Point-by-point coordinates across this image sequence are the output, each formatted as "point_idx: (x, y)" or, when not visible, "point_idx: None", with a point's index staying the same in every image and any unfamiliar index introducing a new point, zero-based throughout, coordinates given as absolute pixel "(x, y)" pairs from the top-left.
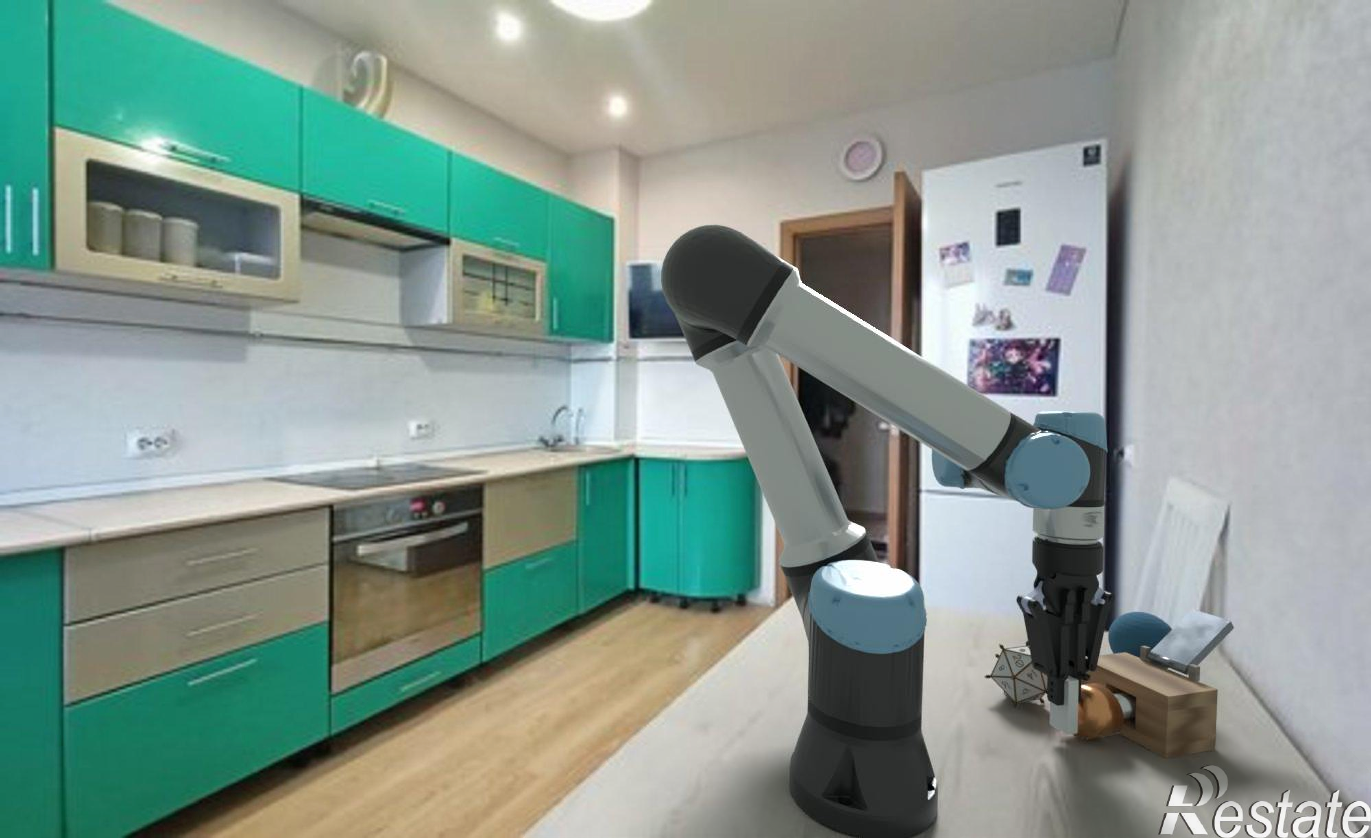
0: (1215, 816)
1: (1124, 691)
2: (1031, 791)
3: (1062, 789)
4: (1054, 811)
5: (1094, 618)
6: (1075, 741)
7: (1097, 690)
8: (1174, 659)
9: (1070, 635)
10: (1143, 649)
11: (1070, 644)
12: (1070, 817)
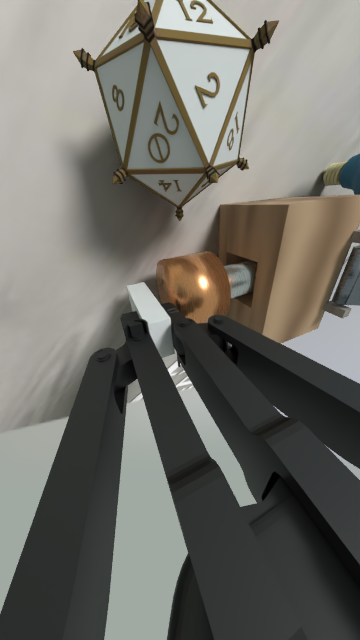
0: (179, 383)
1: (253, 292)
2: (30, 385)
3: (72, 375)
4: (42, 407)
5: (317, 425)
6: (154, 285)
7: (210, 313)
8: (355, 288)
9: (216, 407)
10: None
11: (203, 387)
12: (55, 410)
